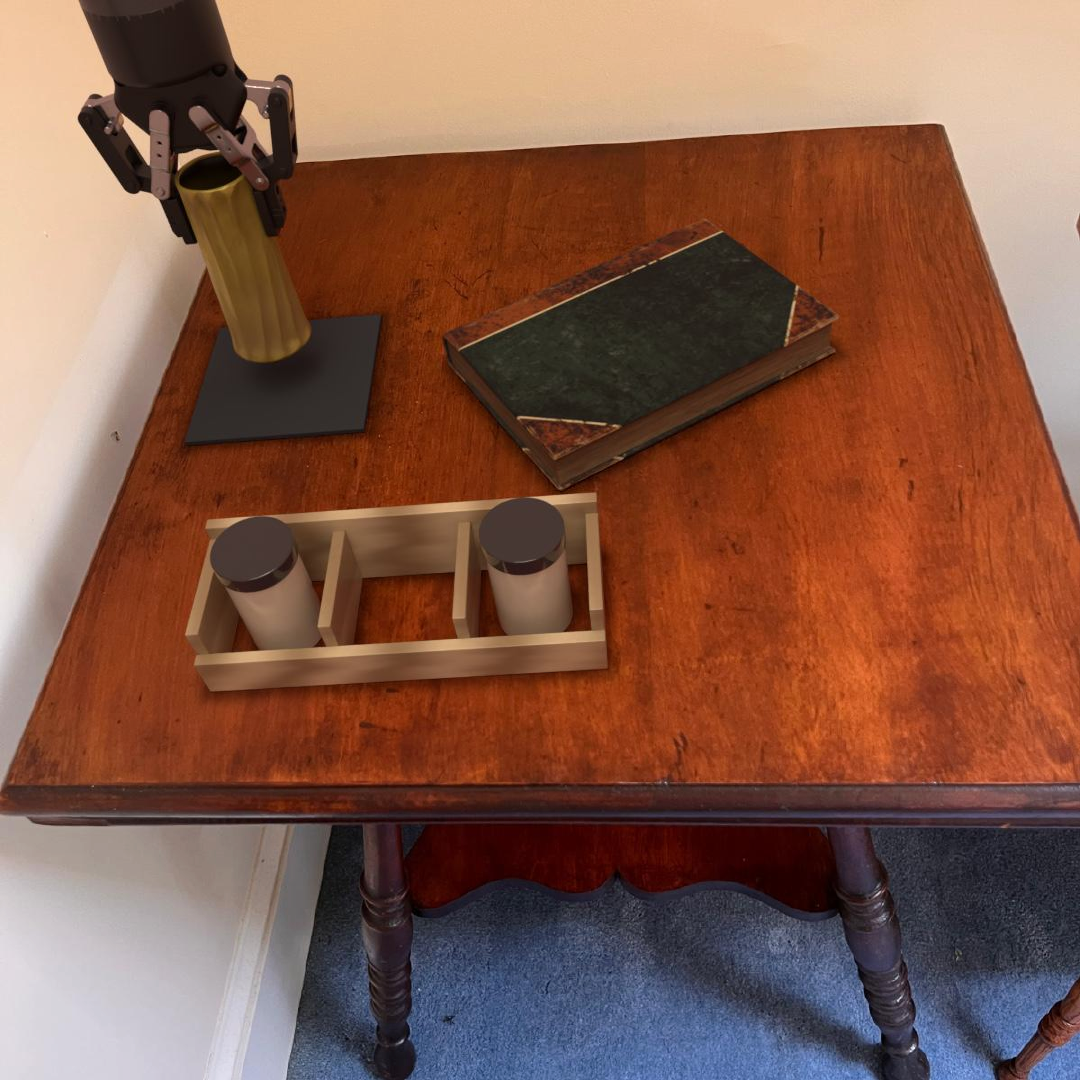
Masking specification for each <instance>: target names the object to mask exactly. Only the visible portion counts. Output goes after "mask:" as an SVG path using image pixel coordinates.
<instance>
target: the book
mask: <svg viewBox="0 0 1080 1080" xmlns="http://www.w3.org/2000/svg"><path fill="white" fill-rule="evenodd" d="M839 320H840V315H839V314H838V313H836V312H835V311H833V309H831V308H829V307H828V306H827V305H825V304H824V303H822V301H820V300H818V299H817V298H815V297H814V296H813V295H812V294H810V293H809V292H807V291H806V290H805V289H803V288H802V287H800V286H799V285H798V284H797V283H795V282H794V281H793V280H791V279H790V278H788V277H787V276H786V275H784V274H783V273H782V272H780V271H778V270H777V269H776V268H775V267H773V266H772V265H770V264H769V263H768V262H766V261H765V260H764V259H762V258H760V257H759V256H758V255H757V254H755V253H754V252H753V251H751V250H749V248H747V247H745V246H744V245H743V244H742V243H740V242H739V241H737V240H736V239H735V238H733V237H732V236H731V235H729V234H728V233H726V232H725V231H723V230H722V229H721V228H719V227H718V226H717V225H715V224H714V223H713V222H712V221H710V220H708V219H706V218H702V219H700V220H697V221H695V222H693V223H690V224H687V225H686V226H683V227H681V228H678V229H676V230H674V231H671V232H669V233H667V234H665V235H663V236H660V237H658V238H656V239H653V240H651V241H649V242H646V243H644V244H642V245H640V246H638V247H636V248H633V249H631V250H629V251H627V252H624V253H622V254H620V255H618V256H617V255H616V256H615V257H612V258H610V259H609V260H605V261H604V262H602V263H599V264H596V265H595V266H593V267H590V268H587V269H586V270H584V271H583V270H582V271H581V272H579V273H577V274H574V275H571V276H570V277H568V278H566V279H563V280H561V281H559V282H557V283H554V284H552V285H550V286H548V287H545V288H542V289H540V290H538V291H537V292H534V293H531V294H529V295H527V296H524V297H522V298H521V299H518V300H516V301H513V302H511V303H509V304H506V305H504V306H502V307H500V308H498V309H495V310H493V311H491V312H488V313H486V314H484V315H482V316H479V317H477V318H475V319H473V320H471V321H468V322H466V323H463V324H462V325H459V326H457V327H455V328H453V329H450V330H448V331H447V332H444V333H442V336H441V338H442V345H443V350H444V354H445V358H446V361H447V364H448V366H449V367H450V368H451V370H452V371H453V372H454V373H455V374H456V375H457V376H458V377H459V378H460V379H461V380H462V382H463V383H464V384H465V385H466V386H467V387H468V389H469V390H470V391H471V392H472V393H473V394H474V395H475V397H476V398H477V399H478V401H479V402H481V404H482V405H483V406H484V407H485V408H486V410H487V411H488V412H489V413H490V414H491V416H492V417H493V418H494V420H495V421H496V422H497V423H498V424H499V425H500V427H501V428H502V429H503V430H504V431H505V432H506V433H507V434H508V435H509V436H510V438H511V439H512V440H513V441H514V442H515V443H516V444H517V446H518V447H519V448H520V449H521V450H522V451H523V452H524V453H525V454H526V455H527V457H528V458H529V459H530V460H531V461H532V462H533V464H534V465H536V467H537V468H538V469H539V470H540V471H541V472H542V474H544V476H545V477H546V478H547V479H548V480H549V482H551V484H552V485H553V486H554V487H555V488H556V489H557V490H558V491H560V492H561V491H563V490H566V489H567V488H570V487H571V486H573V485H575V484H577V483H579V482H581V481H583V480H585V479H587V478H588V477H590V476H592V475H594V474H596V473H598V472H601V471H603V470H604V469H606V468H608V467H610V466H613V465H615V464H616V463H619V462H620V461H623V460H624V459H627V458H629V457H630V456H633V455H635V454H636V453H638V452H640V451H642V450H644V449H647V448H648V447H650V446H653V445H655V444H657V443H659V442H661V441H662V440H663V441H664V440H665V439H666V438H669V437H671V436H673V435H674V434H677V433H678V432H680V431H682V430H685V429H687V428H688V427H690V426H692V425H694V424H697V423H698V422H700V421H703V420H705V419H706V418H709V417H710V416H713V415H714V414H717V413H718V412H720V411H722V410H724V409H726V408H728V407H730V406H733V405H734V404H736V403H738V402H740V401H742V400H745V399H746V398H748V397H750V396H752V395H754V394H756V393H759V391H761V390H763V389H766V388H768V387H770V386H772V385H773V384H775V383H777V382H779V381H782V380H783V379H785V378H787V377H789V376H791V375H793V374H795V373H797V372H799V371H801V370H803V369H804V368H807V367H809V366H811V365H812V364H814V363H816V362H818V361H820V360H823V359H824V358H826V357H828V356H830V355H832V354H834V353H836V352H837V351H836V348H834V347H833V346H832V345H830V343H831V336H832V334H831V333H832V331H831V330H832V325H833V324H834V322H836V321H839Z"/></svg>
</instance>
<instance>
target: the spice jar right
mask: <svg viewBox="0 0 1080 1080" xmlns="http://www.w3.org/2000/svg"><path fill="white" fill-rule="evenodd" d="M524 497H525V496H524ZM528 497H529V496H526V497H525V498H522V497H514V498H515V499H511V500H507V501H505V502H502V503H500V504H498V505H497V506H495V507H494V508H492V509H491V510H490V511H489V512H488V513H487V514H486V515H485V517H484V518H483V520H482V522H481V524H480V527H479V540H480V544H481V549H482V553H483V556H484V558H485V559H486V564H487V568H488V570H487V573H488V577H489V582H490V586H491V591H492V596H493V601H494V604H495V605H494V606H495V609H496V615H497V617H498V623H499V626H500V628H501V629H502V630H503V632H504V633H505V634H506V636H512V635H528V634H545V633H561V632H566V630H567V629H568V627H569V625H570V624H571V622H572V619H573V615H574V606H573V598H572V597H573V596H572V589H571V581H570V573H569V565H568V564H567V556H566V548H565V545H566V534H565V525H564V520H563V517H562V515H561V514H560V512H559V511H558V510H557V509H556V508H555V507H554V506H553V505H551V504H549V503H548V502H546V501H543V500H540V499H536V498H528Z"/></svg>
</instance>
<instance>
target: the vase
mask: <svg viewBox="0 0 1080 1080" xmlns="http://www.w3.org/2000/svg"><path fill="white" fill-rule="evenodd" d="M174 181H175V185H176V187H177V189H178V191H179V194H180V196H181V199H182V201H183V204H184V207H185V209H186V212H187V215H188V217H189V220H190V223H191V226H192V228H193V231H194V234H195V236H196V239H197V244H198V248H199V250H200V253H201V256H202V258H203V261H204V264H205V266H206V269H207V272H208V276H209V279H210V281H211V284H212V286H213V290H214V292H215V296H216V297H217V301H218V303H219V305H220V309H221V311H222V314H223V317H224V319H225V322H226V324H227V327H229V330H230V333H231V337H232V342H233V347H234V350H235V352H236V353H237V354H238V355H239V356H240V357H242V358H243V359H245V360H248V361H250V362H255V363H270V362H275V361H279V360H282V359H285V358H288V357H290V356H292V355H293V354H295V353H296V352H298V351H299V350H300V349H301V348H302V347H304V346H305V344H306V343H307V342H308V340H309V338H310V335H311V325H310V323H309V321H308V320H309V319H308V318H307V317H306V315H305V312H304V308H303V306H302V304H301V301H300V299H299V296H298V294H297V291H296V288H295V287H294V283H293V281H292V277H291V276H290V273H289V269H288V267H287V264H286V261H285V259H284V256H283V253H282V251H281V248H280V245H279V243H278V240H277V236H276V237H268V236H267V234H266V231H265V229H264V226H263V223H262V220H261V217H260V214H259V211H258V208H257V205H256V202H255V199H254V196H253V194H252V191H253V188H254V187H253V186H252V185H251V184H250V182H249V181H248V180H247V179H246V177H245V176H244V175H243V174H242V172H241V171H240V170H239V169H238V168H237V167H236V166H232V165H231V164H230V163H229V162H228V161H227V160H226V159H225V157H224V156H223V155H222V154H221V152H220V151H219V150H218V151H213V152H209V153H204V154H201V155H199V156H196V157H194V158H192V159H191V160H189V161H187V162H185V164H183V165H182V166H180V167H179V168H178V171H177V173H176V175H175V177H174Z"/></svg>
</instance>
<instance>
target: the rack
mask: <svg viewBox="0 0 1080 1080" xmlns="http://www.w3.org/2000/svg"><path fill="white" fill-rule="evenodd" d="M597 495H598V493H597V492H596V491H595V492H582V493H580V492H579V493H567V494H553V495H539V496H538V495H537V496H527V497H528V498H536V499H540V500H543V501H546V502H548V503H549V504H551V505H553V506H554V507H555V508H556V509H557V510H558V511H559V512H560V514H561V515H562V517H563V520H564V525H565V534H566V545H565V548H566V556H567V564H568V566H569V565H582V564H583V565H584V564H586V565H587V566H586V567H587V587H588V588H587V589H588V591H587V592H588V607H589V608H588V612H589V620H590V629H591V630H579V631H564V632H561V633H545V634H528V635H512V636H508V635H500V636H499V635H497V636H496V635H495V636H481V637H480V618H481V617H480V613H481V592H482V591H481V588H482V571H488V568H487V564H486V559H485V558H484V556H483V553H482V549H481V544H480V540H479V527H480V524H481V522H482V520H483V518H484V517H485V515H486V514H487V513H488V512H489V511H490V510H491V509H492V508H494V507H495V506H497V505H498V504H500V503H502V502H505V501H507V500H511V499H515V498H516V497H510V498H497V499H495V498H494V499H481V500H480V499H479V500H466V501H454V502H453V501H452V502H440V503H439V502H438V503H424V504H411V505H410V504H409V505H397V506H383V507H381V506H379V507H366V508H354V509H338V510H327V511H326V510H325V511H323V510H322V511H312V512H311V511H310V512H295V513H294V512H293V513H283V514H282V513H281V514H268V515H267V514H266V515H265V516H267V517H273V518H276V519H279V520H281V521H282V522H284V523H285V524H287V525H288V526H289V528H290V529H291V531H292V533H293V535H294V538H295V540H296V542H297V545H298V551H299V554H300V556H301V558H302V561H303V563H304V565H305V568H306V570H307V572H308V575H309V577H310V579H311V582H323V581H324V585H323V591H322V596H321V601H320V603H321V608H320V614H319V620H318V626H317V627H318V629H319V631H320V634H321V636H322V638H321V639H322V641H323V643H324V645H325V646H317V647H316V646H314V647H313V648H298V649H281V650H265V651H260V650H251V651H250V650H248V651H233V646H234V641H235V639H236V638H235V637H236V633H237V628H238V624H239V619H240V615H239V613H238V611H237V609H236V607H235V606H234V604H233V602H232V600H231V598H230V596H229V594H228V593H227V591H226V589H225V587H224V585H223V584H222V583H221V582H220V581H219V579H218V578H217V576H216V574H215V572H214V570H213V568H212V566H211V564H210V552H211V548H212V546H213V544H214V542H215V540H216V539H217V537H218V536H219V535H220V534H221V533H222V532H223V531H224V530H225V529H227V528H228V527H230V526H231V525H233V524H235V523H236V522H239V521H241V520H244V519H247V518H251V517H257V516H258V515H251V516H240V517H239V516H238V517H225V518H211V519H210V518H209V519H207V520H206V522H205V527H204V530H205V531H206V534H207V535H208V537H209V542H208V547H207V549H206V554H205V558H204V561H203V565H202V568H201V573H200V575H199V576H200V577H199V580H198V584H197V587H196V592H195V595H194V599H193V603H192V606H191V610H190V613H189V618H188V621H187V625H186V630H185V634H184V636H185V638H186V640H187V641H188V642H189V644H190V646H191V648H192V649H193V651H194V652H195V654H196V655H195V659H194V662H193V667H194V669H195V670H196V671H197V673H198V675H199V676H200V677H201V679H202V681H203V683H204V684H205V686H206V688H207V689H208V690H209V691H210V692H227V691H243V690H244V691H246V690H263V689H279V688H281V689H282V688H296V687H297V688H299V687H313V686H330V685H331V686H332V685H349V684H364V683H365V684H366V683H367V684H368V683H379V682H380V683H383V682H384V683H385V682H398V681H399V682H400V681H416V680H417V681H418V680H435V679H436V680H437V679H451V678H452V679H453V678H470V677H471V678H472V677H485V676H486V677H488V676H503V675H504V676H505V675H519V674H536V673H537V674H538V673H554V672H555V673H556V672H571V671H589V670H590V671H591V670H604V669H605V670H606V669H608V668H609V660H608V645H607V644H608V643H607V628H606V610H605V609H606V607H605V592H604V591H605V589H604V575H603V574H604V573H603V558H602V557H603V555H602V544H601V533H600V532H601V531H600V519H599V507H598V505H599V504H598V496H597ZM521 498H525V496H524V497H521ZM445 573H454V580H453V597H452V611H451V612H452V614H451V620H452V623H453V627H454V630H455V634H456V637H457V638H447V639H431V640H430V639H429V640H415V641H413V640H412V641H401V642H400V641H399V642H398V641H397V642H382V643H381V642H380V643H366V644H355V639H356V630H357V623H358V615H359V609H360V608H359V607H360V601H361V595H362V586H363V579H368V578H370V579H372V578H385V577H399V576H417V575H430V574H445ZM232 651H233V652H232Z"/></svg>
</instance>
